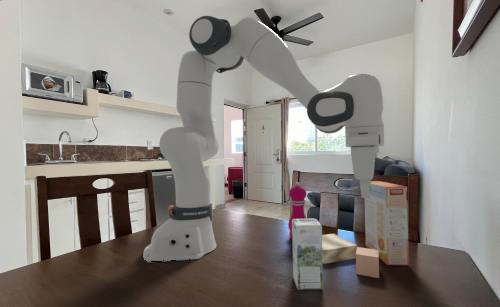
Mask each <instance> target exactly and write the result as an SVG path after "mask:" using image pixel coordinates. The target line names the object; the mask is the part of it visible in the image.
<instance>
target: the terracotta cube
mask: <svg viewBox="0 0 500 307" xmlns="http://www.w3.org/2000/svg"><path fill="white" fill-rule="evenodd" d="M379 259H380V258H379V251H378V250H375V249H368V248H367V247H366V248H365V247H361V246H360V247H358V246H357V250H356V258H355V271H356V272H355V273H356V275H360V276H365V277H370V278H375V279H376V278H377V279H380V263H379V262H380V260H379Z"/></svg>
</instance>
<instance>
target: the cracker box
mask: <svg viewBox="0 0 500 307" xmlns="http://www.w3.org/2000/svg"><path fill="white" fill-rule="evenodd" d="M408 214H409V212H408V187H407V186H404V185H399V184H395V183H392V182H391V183H390V182H387V181H381V180H374V181H373V180H371V191H370V197H369V198H364V224H365V226H364V227H365V233H364V234H365V247H366V248H368V249H375V250H378V251H379V259H380V260H381V261H382V262H383V263H384V264H385V265H386V266H409V265H410V261H409V224H408V223H409V220H408V219H409V218H408V217H409V216H408Z"/></svg>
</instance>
